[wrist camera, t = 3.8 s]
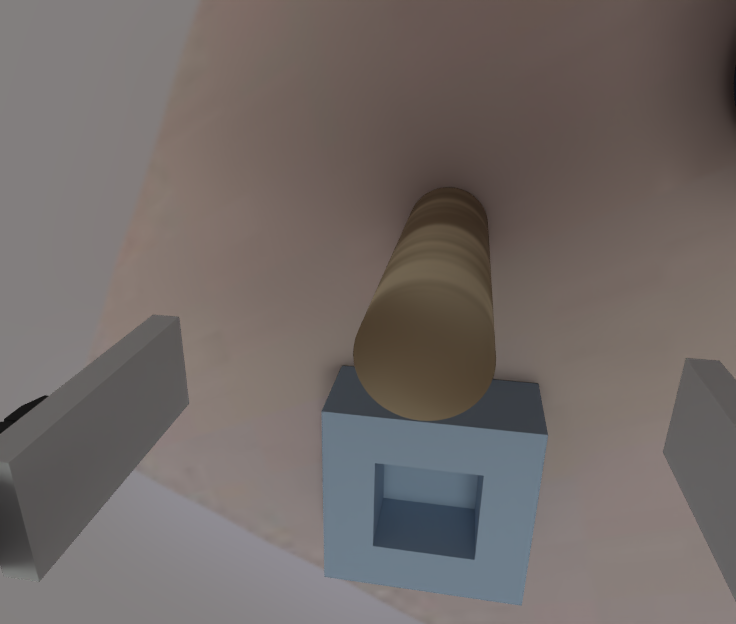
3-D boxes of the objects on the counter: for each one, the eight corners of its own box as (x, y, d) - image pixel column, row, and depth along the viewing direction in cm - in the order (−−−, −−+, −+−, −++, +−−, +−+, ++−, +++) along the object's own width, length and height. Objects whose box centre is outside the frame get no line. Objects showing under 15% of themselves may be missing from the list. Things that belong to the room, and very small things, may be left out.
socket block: (342, 365, 35) (321, 411, 30) (538, 383, 33) (548, 435, 28) (342, 516, 39) (324, 576, 34) (516, 539, 37) (521, 605, 33)
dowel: (410, 185, 30) (353, 288, 16) (491, 189, 29) (502, 299, 16) (407, 261, 32) (352, 413, 18) (483, 266, 31) (488, 427, 17)
